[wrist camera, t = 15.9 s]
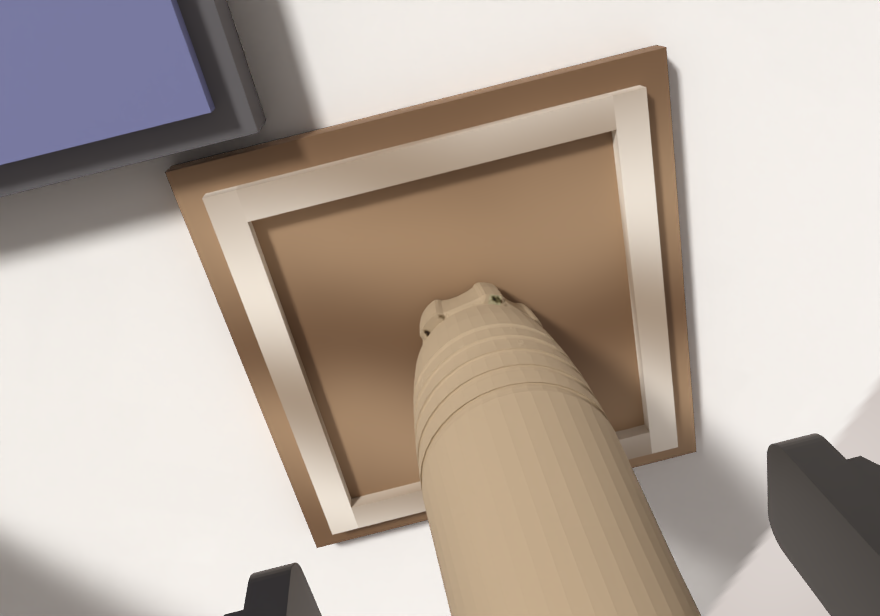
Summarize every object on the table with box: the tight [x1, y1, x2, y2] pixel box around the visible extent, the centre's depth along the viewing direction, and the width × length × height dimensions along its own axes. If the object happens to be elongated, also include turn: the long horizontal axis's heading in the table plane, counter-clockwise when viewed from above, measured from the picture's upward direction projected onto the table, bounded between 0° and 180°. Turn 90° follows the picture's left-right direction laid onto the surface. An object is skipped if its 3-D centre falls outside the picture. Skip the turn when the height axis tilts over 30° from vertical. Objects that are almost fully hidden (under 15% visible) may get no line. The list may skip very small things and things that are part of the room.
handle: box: [413, 282, 701, 616], centre depth 12 cm, size 5×6×15 cm
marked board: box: [165, 45, 696, 548], centre depth 19 cm, size 12×12×1 cm
